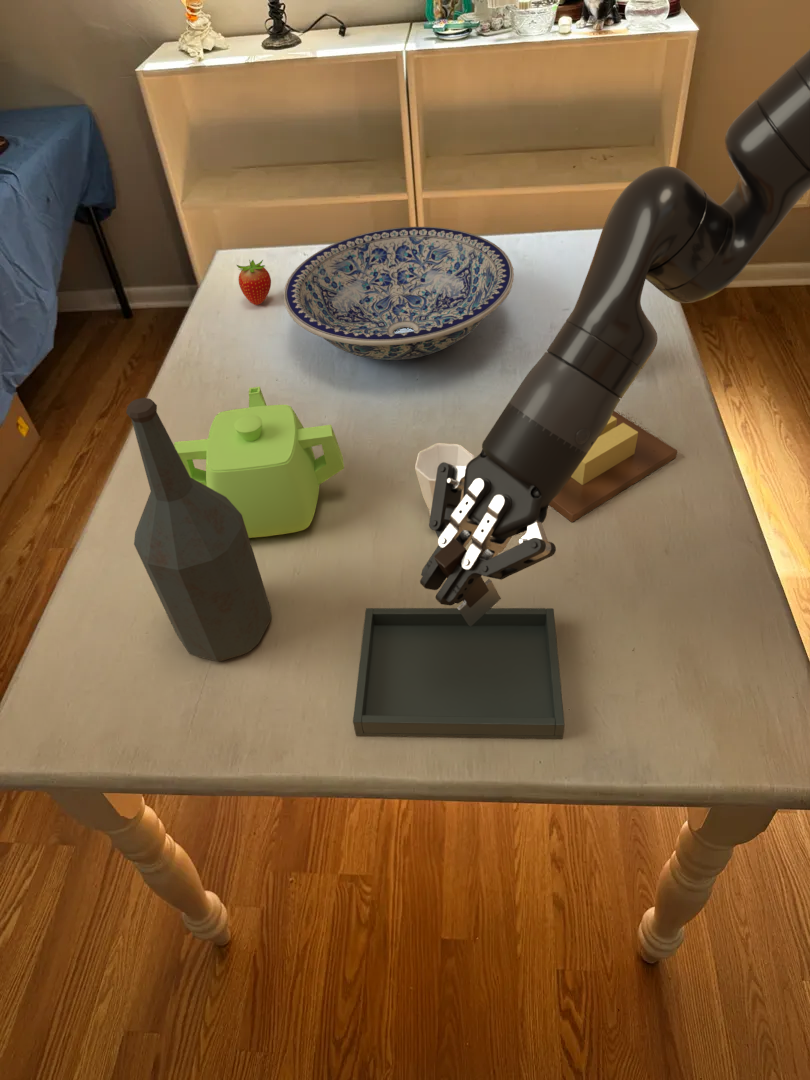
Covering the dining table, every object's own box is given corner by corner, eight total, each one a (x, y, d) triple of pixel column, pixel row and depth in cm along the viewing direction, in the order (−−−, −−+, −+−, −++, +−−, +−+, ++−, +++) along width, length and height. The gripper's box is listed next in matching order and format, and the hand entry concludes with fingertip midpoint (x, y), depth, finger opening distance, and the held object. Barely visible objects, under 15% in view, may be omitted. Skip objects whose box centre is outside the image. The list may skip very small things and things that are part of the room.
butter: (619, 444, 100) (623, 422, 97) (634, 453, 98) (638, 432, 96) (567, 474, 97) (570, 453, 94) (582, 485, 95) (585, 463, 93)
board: (606, 413, 106) (607, 406, 105) (676, 457, 99) (677, 450, 98) (505, 471, 100) (505, 463, 99) (572, 522, 93) (572, 515, 92)
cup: (436, 484, 99) (433, 434, 93) (507, 511, 95) (509, 460, 89) (407, 519, 95) (402, 469, 89) (480, 548, 91) (480, 498, 85)
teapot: (199, 455, 106) (171, 374, 97) (345, 439, 106) (332, 357, 97) (185, 555, 93) (151, 473, 84) (351, 536, 94) (337, 452, 84)
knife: (494, 592, 75) (460, 531, 66) (505, 602, 74) (473, 542, 65) (463, 620, 75) (425, 563, 65) (474, 630, 74) (437, 574, 64)
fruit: (253, 294, 135) (243, 250, 129) (280, 297, 134) (271, 253, 128) (238, 310, 132) (227, 265, 126) (266, 314, 130) (256, 269, 124)
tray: (551, 623, 83) (553, 607, 81) (562, 739, 74) (564, 725, 72) (368, 622, 85) (365, 607, 83) (356, 736, 75) (352, 722, 73)
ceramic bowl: (347, 268, 139) (340, 212, 132) (536, 293, 129) (540, 234, 122) (254, 378, 118) (239, 319, 110) (472, 418, 108) (471, 356, 100)
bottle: (263, 580, 90) (194, 357, 68) (281, 646, 83) (211, 423, 61) (173, 607, 88) (73, 386, 66) (185, 676, 82) (78, 457, 60)
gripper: (633, 478, 62) (510, 647, 67) (517, 398, 70) (414, 554, 74) (591, 456, 56) (460, 643, 61) (470, 371, 64) (362, 543, 69)
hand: (435, 593), depth 68 cm, fingers closed on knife, 1 cm apart
